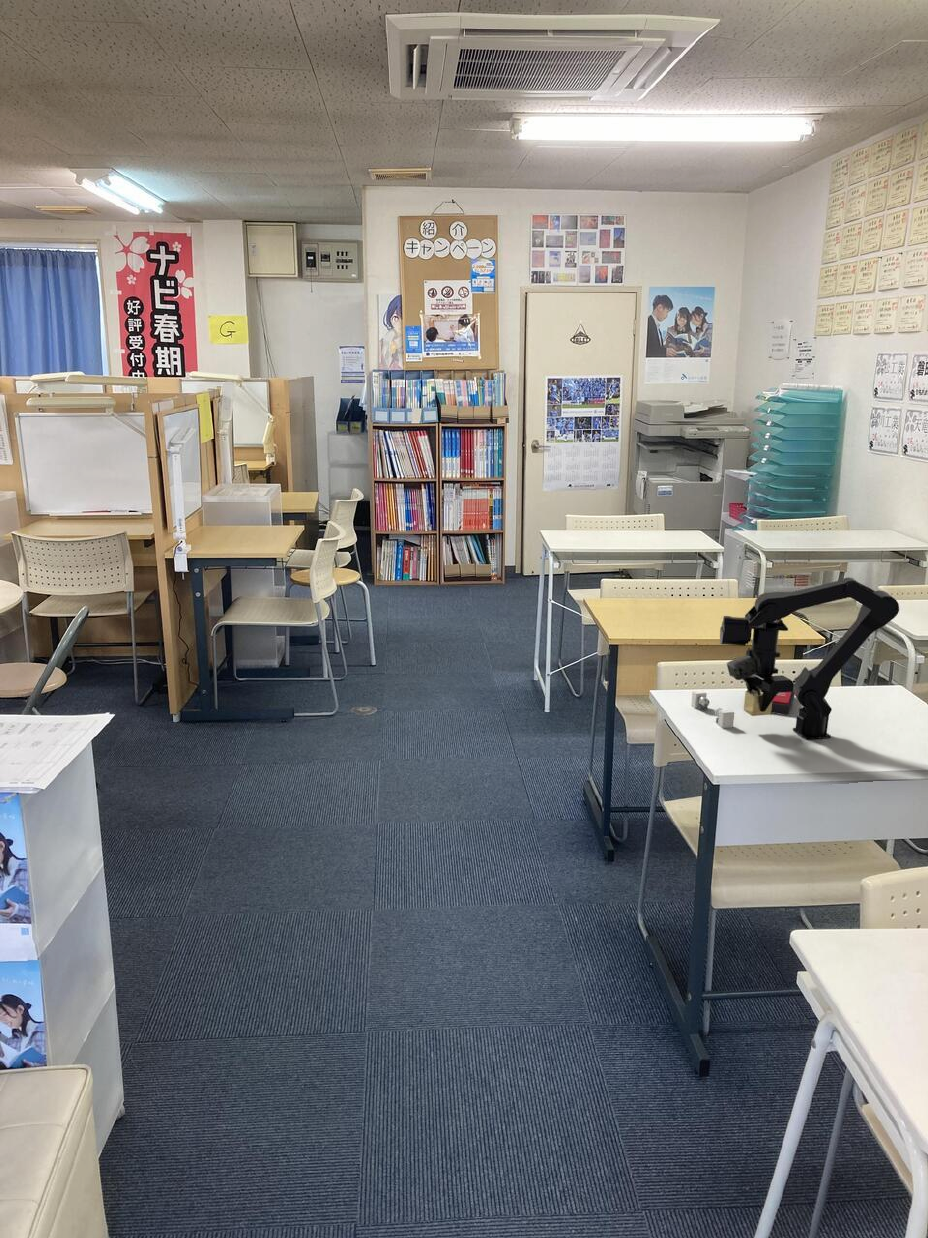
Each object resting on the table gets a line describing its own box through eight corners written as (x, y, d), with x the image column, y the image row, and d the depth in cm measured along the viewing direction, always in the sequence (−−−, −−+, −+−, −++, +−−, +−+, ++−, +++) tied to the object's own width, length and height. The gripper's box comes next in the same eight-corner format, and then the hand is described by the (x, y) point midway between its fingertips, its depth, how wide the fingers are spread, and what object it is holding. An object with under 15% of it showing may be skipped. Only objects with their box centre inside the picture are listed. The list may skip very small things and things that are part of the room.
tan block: (743, 710, 225) (745, 688, 224) (761, 708, 226) (764, 687, 225) (752, 716, 221) (754, 694, 220) (770, 714, 223) (773, 692, 221)
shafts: (704, 707, 240) (705, 695, 239) (727, 724, 229) (728, 711, 228) (696, 708, 239) (697, 695, 238) (719, 725, 228) (720, 712, 227)
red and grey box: (745, 696, 239) (753, 677, 252) (744, 711, 240) (752, 691, 253) (789, 703, 235) (796, 683, 248) (788, 718, 236) (794, 698, 249)
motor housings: (701, 704, 242) (703, 690, 241) (732, 727, 227) (734, 711, 226) (691, 705, 241) (692, 691, 240) (721, 728, 226) (723, 712, 225)
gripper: (714, 637, 226) (708, 697, 230) (754, 660, 209) (748, 724, 213) (755, 635, 229) (748, 694, 233) (798, 657, 211) (790, 721, 216)
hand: (757, 708), depth 224 cm, fingers closed on tan block, 4 cm apart
